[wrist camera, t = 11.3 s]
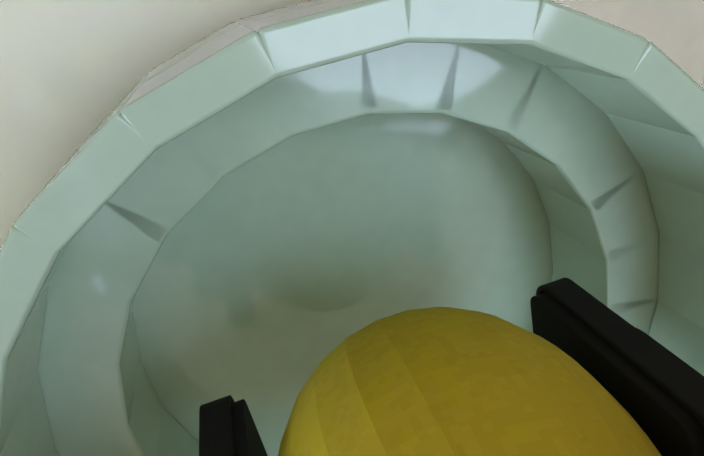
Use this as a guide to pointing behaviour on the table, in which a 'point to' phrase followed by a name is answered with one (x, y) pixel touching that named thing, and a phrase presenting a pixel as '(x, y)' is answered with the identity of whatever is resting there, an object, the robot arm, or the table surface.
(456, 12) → the bowl
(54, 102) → the table surface
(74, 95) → the table surface
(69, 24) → the table surface
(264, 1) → the table surface
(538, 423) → the lemon
